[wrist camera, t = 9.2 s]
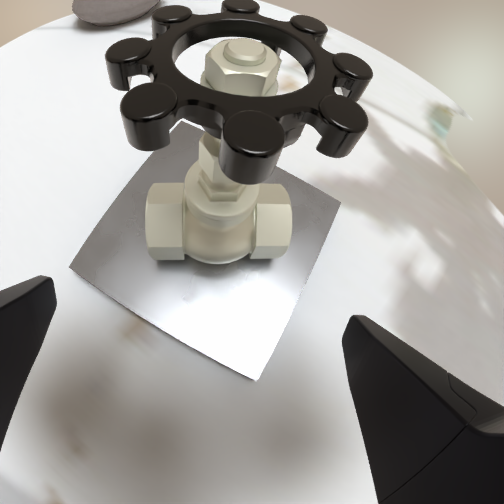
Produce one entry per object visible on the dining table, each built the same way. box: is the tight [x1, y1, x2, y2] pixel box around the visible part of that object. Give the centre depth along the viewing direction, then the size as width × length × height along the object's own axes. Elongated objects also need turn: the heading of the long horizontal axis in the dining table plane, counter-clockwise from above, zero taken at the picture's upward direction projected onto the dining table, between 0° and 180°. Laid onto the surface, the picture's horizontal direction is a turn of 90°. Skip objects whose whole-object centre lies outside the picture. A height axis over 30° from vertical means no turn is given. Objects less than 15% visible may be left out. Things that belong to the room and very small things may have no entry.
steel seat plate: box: [69, 121, 341, 381], centre depth 18 cm, size 12×12×1 cm
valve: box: [105, 0, 373, 264], centre depth 11 cm, size 7×7×12 cm
